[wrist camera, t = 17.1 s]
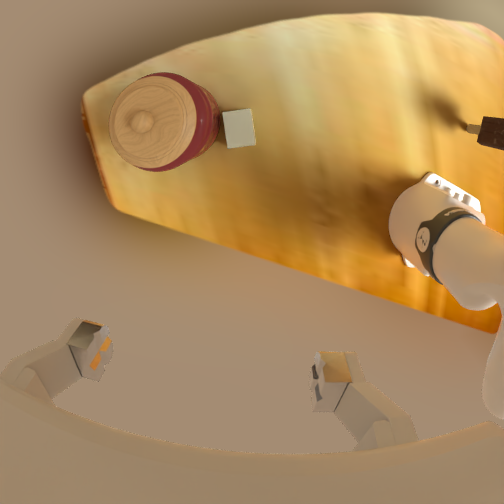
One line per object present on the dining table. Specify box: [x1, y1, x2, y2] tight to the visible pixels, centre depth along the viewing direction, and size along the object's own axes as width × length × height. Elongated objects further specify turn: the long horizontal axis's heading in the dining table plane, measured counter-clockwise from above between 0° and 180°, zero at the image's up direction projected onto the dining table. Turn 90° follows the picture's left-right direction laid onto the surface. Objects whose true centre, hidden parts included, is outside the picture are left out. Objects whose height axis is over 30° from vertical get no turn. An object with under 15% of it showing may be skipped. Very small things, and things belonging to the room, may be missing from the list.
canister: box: [109, 72, 220, 172], centre depth 35 cm, size 13×13×18 cm
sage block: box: [222, 108, 256, 149], centre depth 41 cm, size 4×6×4 cm
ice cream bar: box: [466, 116, 504, 150], centre depth 32 cm, size 5×2×15 cm, turn 164°
